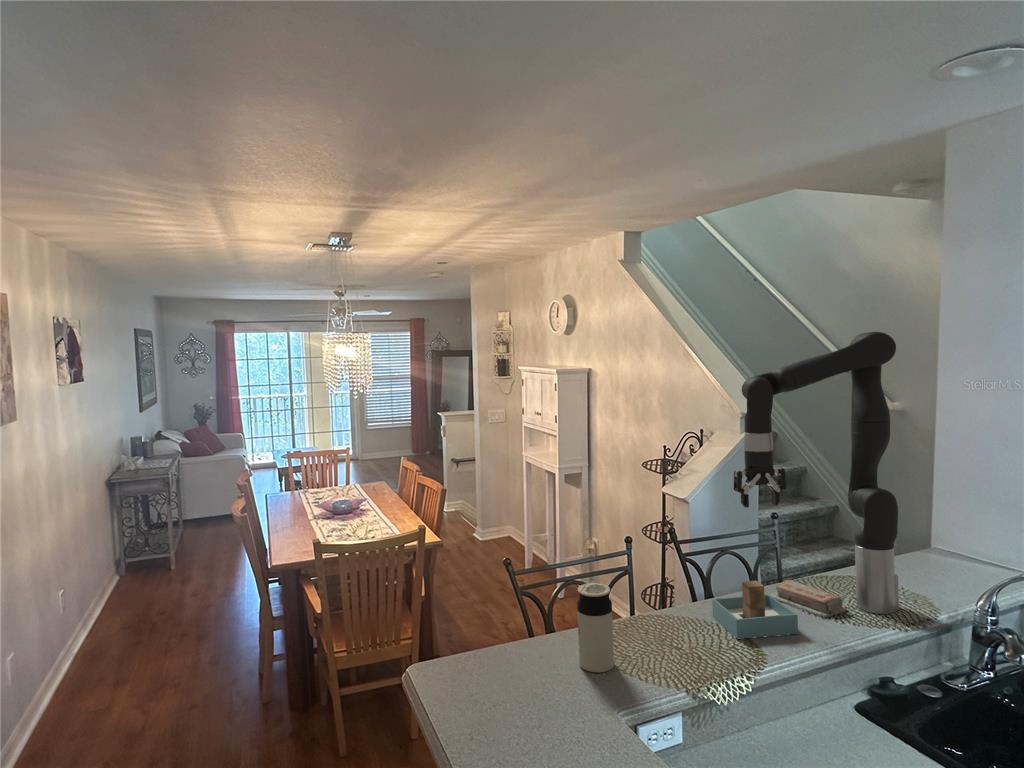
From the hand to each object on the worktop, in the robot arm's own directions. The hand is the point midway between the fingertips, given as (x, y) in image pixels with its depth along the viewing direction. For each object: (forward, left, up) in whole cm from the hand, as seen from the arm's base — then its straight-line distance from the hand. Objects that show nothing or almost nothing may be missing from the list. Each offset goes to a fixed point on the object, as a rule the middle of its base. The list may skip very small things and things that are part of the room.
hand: (760, 505), depth 171 cm
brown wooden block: (+9, +12, -28) cm, 32 cm away
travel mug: (+54, +25, -28) cm, 66 cm away
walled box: (+9, +12, -28) cm, 32 cm away
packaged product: (-12, +2, -29) cm, 31 cm away
